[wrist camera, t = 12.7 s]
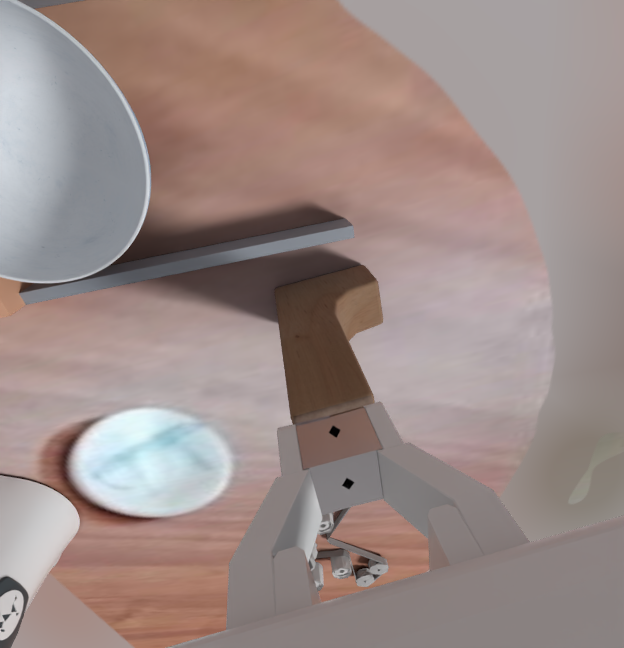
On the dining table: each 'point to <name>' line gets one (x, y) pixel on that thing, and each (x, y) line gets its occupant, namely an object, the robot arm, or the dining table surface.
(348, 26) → the dining table surface
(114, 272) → the wooden tray
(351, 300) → the wooden block
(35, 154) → the chinaware
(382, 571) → the pulley system
